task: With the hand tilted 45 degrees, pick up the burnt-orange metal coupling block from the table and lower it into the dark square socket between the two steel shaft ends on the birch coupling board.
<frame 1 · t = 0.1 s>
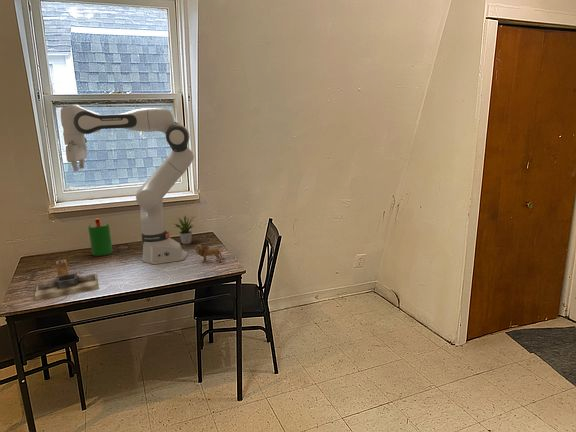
hand: (79, 169, 203), 48 cm above the table, tool pointing down, fingers open, 8 cm apart
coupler: (63, 277, 198), on the table
motor: (102, 253, 231), on the table
house plant: (187, 242, 247), on the table
lion figurine: (209, 261, 213), on the table
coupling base: (68, 288, 186), on the table
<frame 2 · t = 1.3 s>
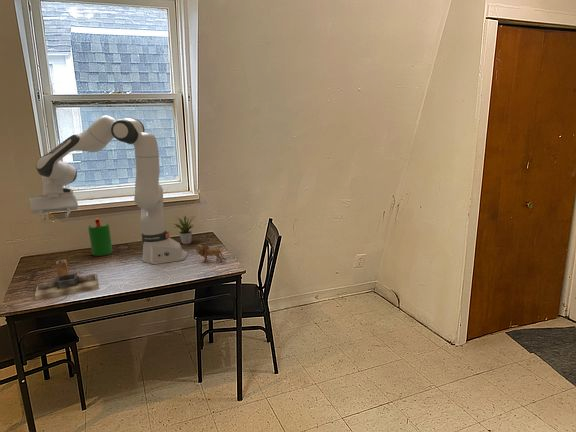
hand: (55, 218, 202), 26 cm above the table, tool tilted 45°, fingers open, 8 cm apart
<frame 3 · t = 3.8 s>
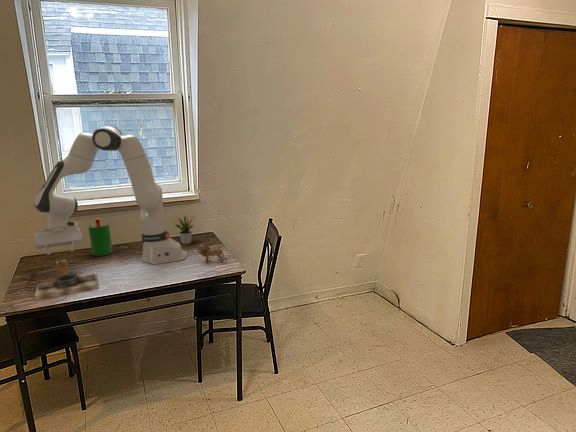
hand: (60, 252, 201), 10 cm above the table, tool tilted 45°, fingers open, 8 cm apart
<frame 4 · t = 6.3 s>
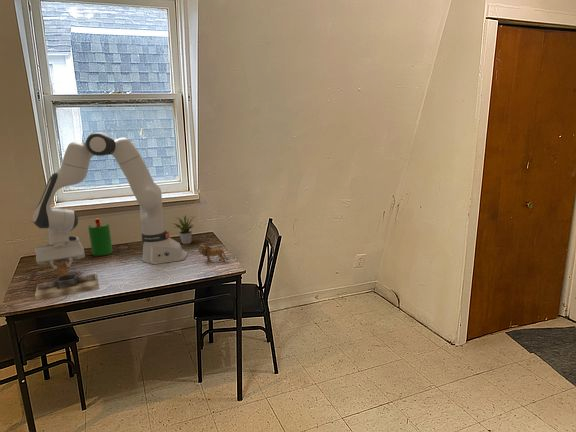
hand: (62, 268, 196), 5 cm above the table, tool tilted 45°, fingers closed on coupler, 4 cm apart
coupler: (63, 277, 198), on the table, touching gripper
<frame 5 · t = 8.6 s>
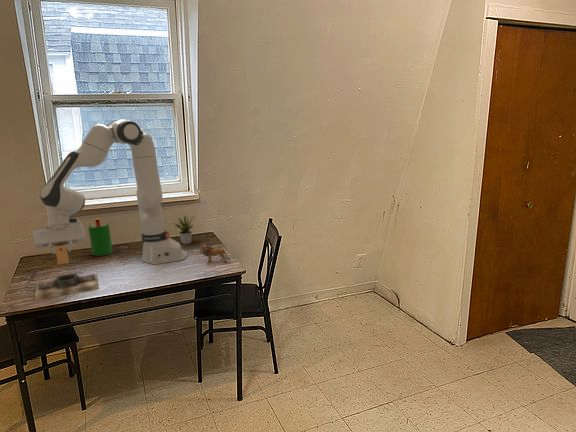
hand: (61, 252, 182), 16 cm above the table, tool tilted 45°, fingers closed on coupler, 4 cm apart
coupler: (63, 262, 184), point 12 cm above the table, touching gripper
when the fingers open (8 cm above the table, at t = 11.2 s): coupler stays where it is, resting on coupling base.
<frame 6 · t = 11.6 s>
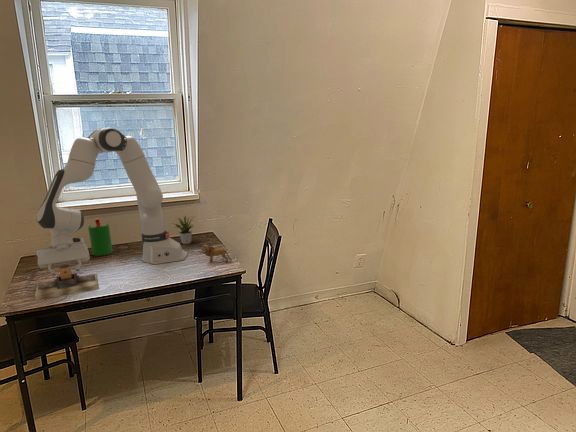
hand: (65, 272, 183), 8 cm above the table, tool tilted 45°, fingers open, 8 cm apart
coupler: (67, 284, 185), point 2 cm above the table, touching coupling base
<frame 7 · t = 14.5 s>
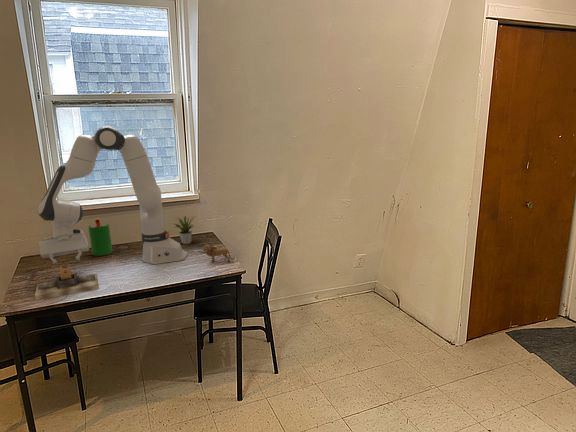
hand: (66, 261, 195), 8 cm above the table, tool tilted 45°, fingers open, 8 cm apart
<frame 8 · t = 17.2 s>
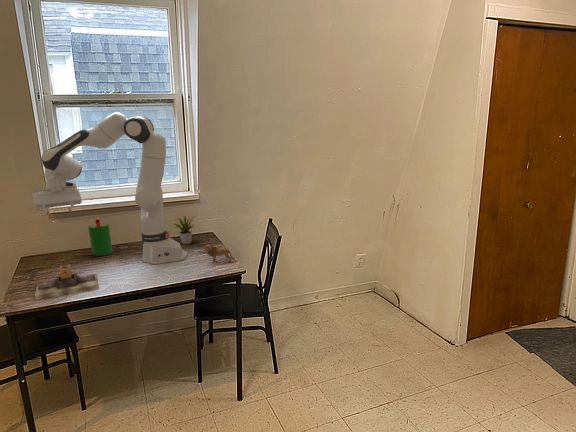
hand: (59, 212, 198), 29 cm above the table, tool tilted 45°, fingers open, 8 cm apart
at the end: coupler 0.1 cm off-centre on the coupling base, point 2.0 cm above the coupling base's base; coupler tilted 0°; the gripper is holding nothing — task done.
